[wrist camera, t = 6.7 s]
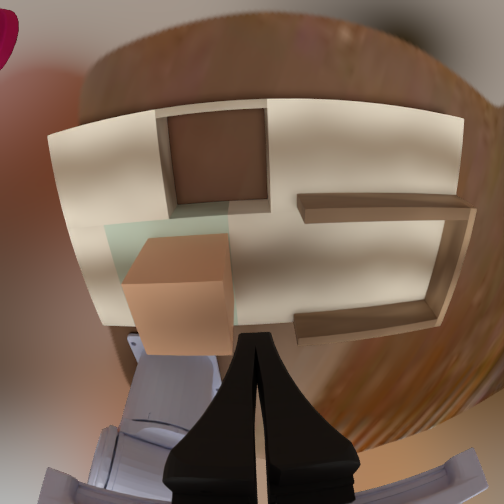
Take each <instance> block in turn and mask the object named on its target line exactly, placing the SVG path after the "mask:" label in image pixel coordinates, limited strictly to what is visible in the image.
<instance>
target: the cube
mask: <svg viewBox="0 0 504 504" xmlns="http://www.w3.org/2000/svg"><path fill="white" fill-rule="evenodd" d="M121 286H122V289H123V292H124V295H125V298H126V301H127V303H128V306H129V309H130V312H131V315H132V318H133V320H134V323H135V326H136V328H137V331H138V333H139V336H140V339H141V341H142V344H143V346H144V349H145V351H146V353H147V355H176V356H214V355H233V324H234V291H233V282H232V271H231V261H230V251H229V240H228V233H221V234H204V235H188V236H173V237H158V238H148V239H147V241H146V243H145V244H144V246H143V248H142V249H141V251H140V252H139V254H138V256H137V258H136V259H135V261H134V263H133V264H132V266H131V268H130V269H129V271H128V273H127V275H126V276H125V278H124V280H123V282H122V284H121Z"/></svg>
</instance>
